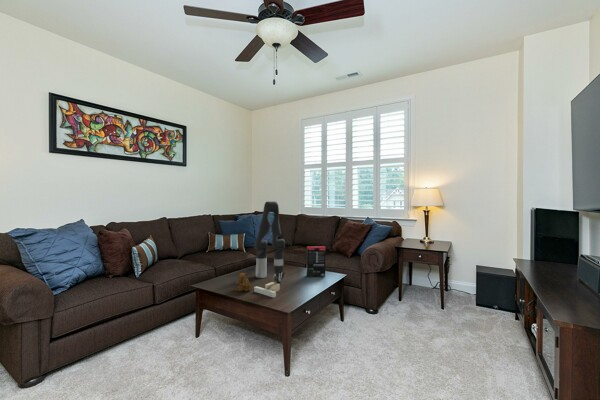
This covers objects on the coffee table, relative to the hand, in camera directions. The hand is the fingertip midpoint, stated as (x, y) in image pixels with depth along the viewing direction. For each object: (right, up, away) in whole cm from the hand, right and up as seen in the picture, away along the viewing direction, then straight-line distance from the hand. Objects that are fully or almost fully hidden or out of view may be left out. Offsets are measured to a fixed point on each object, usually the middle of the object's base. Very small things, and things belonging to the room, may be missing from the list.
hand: (278, 285), depth 222 cm
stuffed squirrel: (-27, -2, -4) cm, 27 cm away
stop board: (-10, -2, -12) cm, 16 cm away
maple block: (-4, -2, -4) cm, 7 cm away
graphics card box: (+32, -2, +34) cm, 46 cm away
